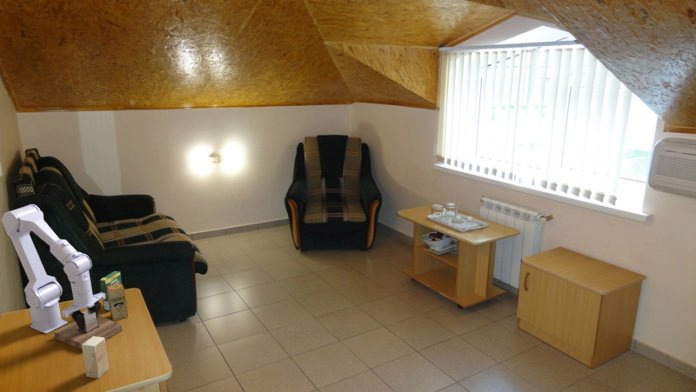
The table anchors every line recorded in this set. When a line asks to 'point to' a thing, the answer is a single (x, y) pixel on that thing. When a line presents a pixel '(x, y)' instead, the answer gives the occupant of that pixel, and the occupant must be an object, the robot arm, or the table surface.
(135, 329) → the table surface
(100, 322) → the socket block
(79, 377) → the table surface
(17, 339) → the table surface
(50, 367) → the table surface
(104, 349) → the box
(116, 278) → the coffee box
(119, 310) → the shoe polish box
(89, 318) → the peg
